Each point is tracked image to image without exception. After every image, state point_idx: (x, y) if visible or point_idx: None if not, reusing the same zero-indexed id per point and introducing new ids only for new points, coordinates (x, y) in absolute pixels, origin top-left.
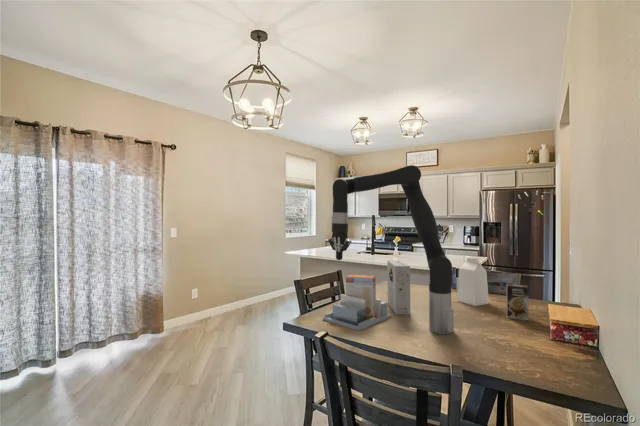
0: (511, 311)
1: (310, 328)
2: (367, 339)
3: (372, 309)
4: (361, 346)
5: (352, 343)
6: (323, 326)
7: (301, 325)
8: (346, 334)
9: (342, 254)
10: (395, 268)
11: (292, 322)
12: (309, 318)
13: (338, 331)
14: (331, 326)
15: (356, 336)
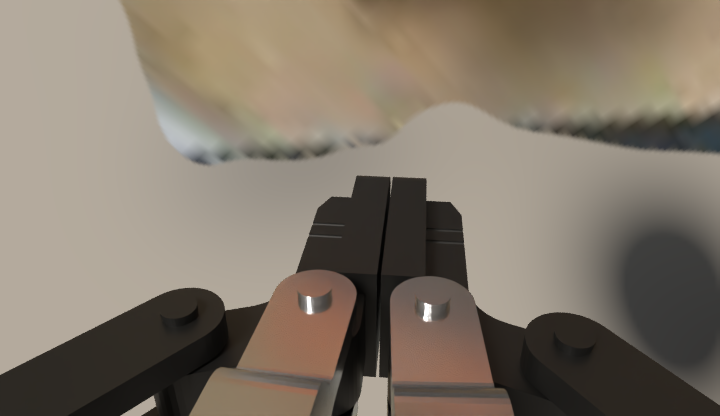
0: None
1: (329, 132)
2: (709, 45)
3: None
4: (715, 146)
5: (651, 145)
6: (358, 58)
7: (257, 131)
8: (554, 67)
9: (464, 259)
10: None
11: (183, 130)
12: (181, 8)
13: (485, 61)
14: (395, 23)
15: (625, 52)
